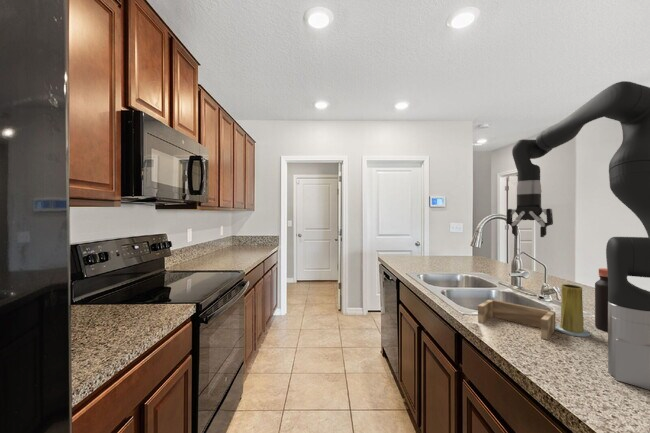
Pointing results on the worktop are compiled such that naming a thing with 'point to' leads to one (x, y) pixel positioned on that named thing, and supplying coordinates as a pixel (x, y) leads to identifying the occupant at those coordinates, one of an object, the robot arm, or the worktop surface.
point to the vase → (572, 308)
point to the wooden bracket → (518, 315)
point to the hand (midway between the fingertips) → (528, 236)
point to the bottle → (601, 300)
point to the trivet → (583, 334)
